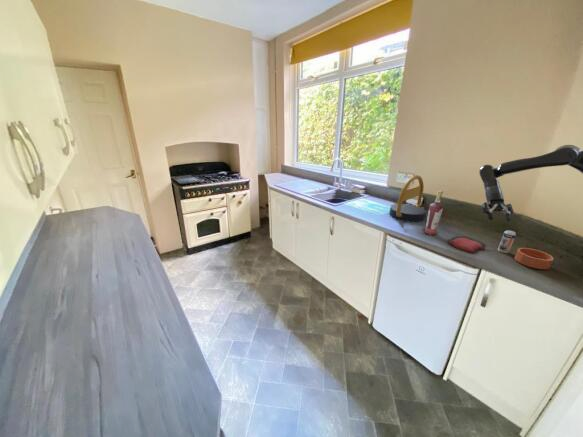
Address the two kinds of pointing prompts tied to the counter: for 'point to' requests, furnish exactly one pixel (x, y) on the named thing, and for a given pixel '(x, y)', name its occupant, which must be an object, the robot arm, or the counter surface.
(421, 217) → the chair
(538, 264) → the bowl
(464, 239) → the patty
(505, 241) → the beer can
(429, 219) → the liquor
